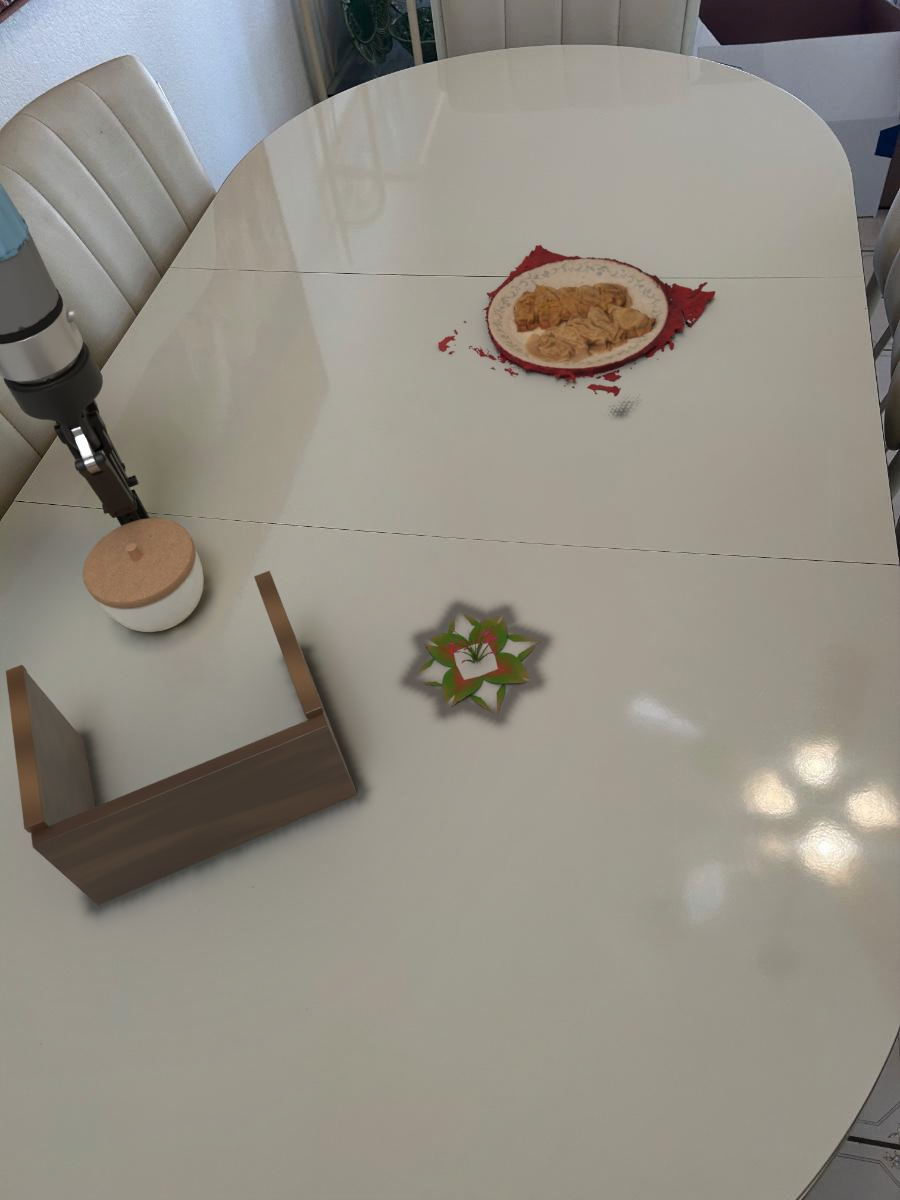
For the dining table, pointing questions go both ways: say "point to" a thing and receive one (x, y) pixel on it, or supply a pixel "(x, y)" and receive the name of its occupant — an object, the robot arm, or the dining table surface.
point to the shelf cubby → (170, 787)
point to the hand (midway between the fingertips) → (146, 541)
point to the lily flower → (480, 634)
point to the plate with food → (584, 316)
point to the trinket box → (145, 574)
